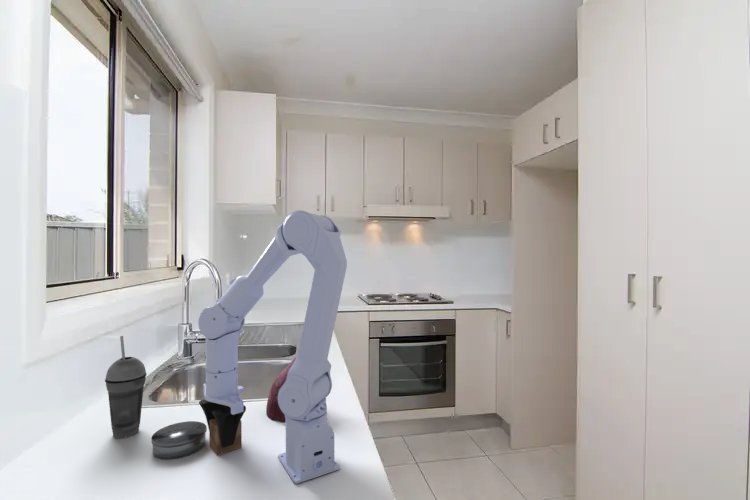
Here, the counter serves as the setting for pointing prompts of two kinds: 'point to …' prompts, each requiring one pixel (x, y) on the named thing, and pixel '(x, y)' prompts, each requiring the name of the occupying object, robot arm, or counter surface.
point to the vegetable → (272, 403)
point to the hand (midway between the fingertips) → (222, 440)
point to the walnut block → (215, 439)
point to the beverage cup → (125, 394)
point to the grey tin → (179, 440)
